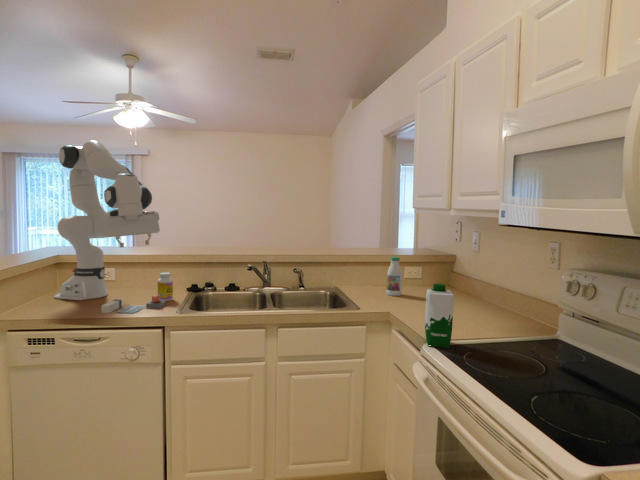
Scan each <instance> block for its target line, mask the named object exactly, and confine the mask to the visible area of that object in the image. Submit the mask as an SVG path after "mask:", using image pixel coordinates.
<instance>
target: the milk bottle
mask: <svg viewBox="0 0 640 480" xmlns="http://www.w3.org/2000/svg"><path fill="white" fill-rule="evenodd" d="M402 272H403V271H402V268H401V265H400V257H399V256H391V257H390V265H389V267H388V269H387V273H386V274H387V276H386V295H388V296H391V297H399V296H400V297H401V295H402V290H403V289H402V287H403V285H402V282H403V273H402Z"/></svg>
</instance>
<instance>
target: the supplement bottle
mask: <svg viewBox="0 0 640 480" xmlns="http://www.w3.org/2000/svg"><path fill="white" fill-rule="evenodd" d="M173 284H174V283H173V278H171V272H160V273H159V278H158V279H157V295H160V300H161V301H166V302H169V301H172V300H173V299H174V297H173V296H174V295H173V291H174V290H173V289H174V287H173Z"/></svg>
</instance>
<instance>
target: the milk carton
mask: <svg viewBox="0 0 640 480" xmlns="http://www.w3.org/2000/svg"><path fill="white" fill-rule="evenodd" d="M424 315H425V317H424V331H425V332H424V333H425V340H426V344H427V346H428V345H431V346H430V347H432V346H434V347H433V348H445V349H446V348H447V349H448V348H451V342H452V335H453V334H452V333H453V320H454V319H453V318H454V293H453V292H452V291H451V290H450V289H446V284H445V283H433V284H432V288H427V289H426V298H425V314H424Z"/></svg>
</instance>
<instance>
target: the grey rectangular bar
mask: <svg viewBox="0 0 640 480" xmlns="http://www.w3.org/2000/svg"><path fill="white" fill-rule="evenodd" d="M122 303H123V301H122V299H117V298H115V299H112V300H110V301H108V302H107V303H104V304H101V314H110V313H111V312H114V311H115V310H118V309H121V308H122V306H123V305H122Z"/></svg>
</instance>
